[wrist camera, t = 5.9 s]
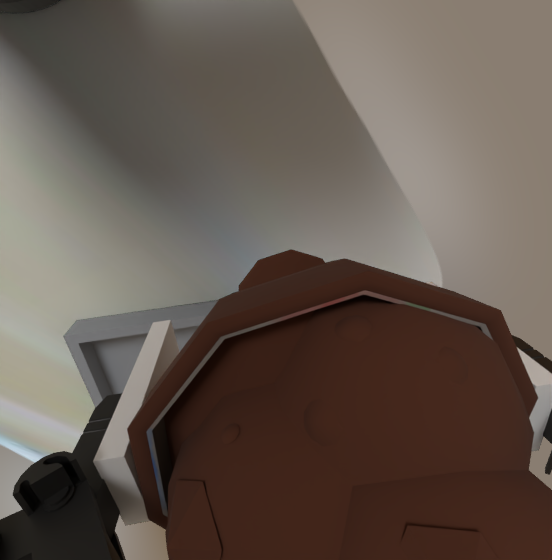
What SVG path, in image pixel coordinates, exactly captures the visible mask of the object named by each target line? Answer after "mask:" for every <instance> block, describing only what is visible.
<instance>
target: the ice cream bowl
mask: <svg viewBox="0 0 552 560" xmlns="http://www.w3.org/2000/svg"><path fill="white" fill-rule="evenodd" d="M537 400H538V396H537V393H536V391H535V389H534V387H533V384H532V382H531V380H530V377H529V375H528V373H527V370H526V368H525V366H524V363H523V361H522V359H521V356H520V354H519V352H518V349H517V347H516V345H515V342H514V340H513V338H512V335H511V333H510V331H509V328H508V326H507V324H506V322H505V320H504V317H503V314H502V312H501V310H499V309H496V308H493V307H491V306H488V305H486V304H483V303H481V302H479V301H476V300H474V299H471V298H468V297H466V296H464V295H461V294H458V293H456V292H454V291H450V290H447V289H444V288H440V287H437V286H434V285H431V284H427V283H424V282H421V281H417V280H414V279H411V278H407V277H404V276H401V275H398V274H394V273H391V272H388V271H384V270H381V269H378V268H374V267H371V266H368V265H365V264H361V263H358V262H355V261H351V260H348V259H341V260H336V261H331V262H327V263H325V262H324V260H323V259H322V258H318V257H315V256H311V255H308V254H305V253H301V252H298V251H295V250H288V251H285V252H282V253H279V254H276V255H273V256H270V257H266V258H263V259H260V260H258V261H257V263H256V264H255V265H254V267H253V268H252V269H251V270H250V272H249V273H248V274H247V276H246V277H245V278H244V280H243V281H242V282H241V284H240V285H239V291H238V292H235V293H232V294H230V295H228V296H226V297H223V298H221V299H219V300H218V302H217V303H216V304H215V306H214V307H213V308H212V310H211V311H210V312H209V314H208V315H207V316H206V318H205V319H204V320H203V322H202V323H201V324H200V326H199V327H198V328H197V330H196V331H195V332H194V334H193V335H192V336H191V338H190V339H189V340H188V342H187V343H186V344H185V346H184V347H183V348H182V350H181V351H180V352H179V354H178V355H177V356H176V358H175V359H174V360H173V362H172V363H171V364H170V366H169V367H168V368H167V370H166V371H165V372H164V374H163V375H162V376H161V378H160V379H159V380H158V382H157V383H156V384H155V386H154V387H153V388H152V390H151V392H150V393H149V395H148V396H147V398H146V400H145V401H144V403H143V404H142V406H141V407H140V409H139V411H138V412H137V414H136V415H135V417H134V418H133V420H132V422H131V423H130V425H129V426H128V428H127V432H128V436H129V440H130V445H131V449H132V453H133V457H134V462H135V466H136V470H137V475H138V479H139V483H140V487H141V492H142V496H143V500H144V504H145V509H146V513H147V517H148V519H149V520H150V521H152V522H154V523H156V524H157V525H159V526H161V527H162V528H164V529H166V543H167V551H168V556H169V560H552V490H551V489H550V488H549V487H547V486H546V485H545V484H544V483H543V482H542V481H540V480H539V479H538V478H537V477H536V476H535V475H534V474H532V473H531V472H530V471H529V464H530V457H531V451H532V444H533V437H534V431H533V428H532V425H531V422H530V419H529V417H530V415H531V413H532V411H533V408H534V406H535V404H536V402H537Z"/></svg>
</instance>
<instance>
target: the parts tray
mask: <svg viewBox="0 0 552 560" xmlns="http://www.w3.org/2000/svg"><path fill="white" fill-rule="evenodd" d="M217 302H218V300H216V301H209V302H202V303H195V304H188V305H181V306H174V307H167V308H160V309H153V310H146V311H139V312H132V313H125V314H118V315H111V316H104V317H97V318H90V319H83V320H77V321H76V322H75V323H74V324H73V325H72V326H71V328H70V329H69V330H68V331H67V332H66V334H65V335H64V336H63V337H64V339H65V341H66V343H67V345H68V348H69V350H70V352H71V354H72V357H73V359H74V361H75V363H76V365H77V368H78V370H79V372H80V374H81V377H82V379H83V381H84V383H85V385H86V388H87V390H88V392H89V394H90V396H91V399H92V401H93V403H94V405H95V408H96V407H97V406H98V405H99V404H100V402H101V401H102V400H103V399H104V398H105V397H106V396H108V395H114V394H120V393H123V391H124V389H125V386H126V384H127V382H128V379H129V377H130V375H131V372H132V370H133V368H134V365H135V363H136V361H137V358H138V356H139V354H140V351H141V349H142V347H143V344H144V342H145V340H146V338H147V335H148V333H149V331H150V328H151V326H152V324H153V322H159V321H166V320H171V323H172V326H173V330H174V333H175V337H176V341H177V344H178V348H179V351H181V350H182V348H183V347H184V346H185V344H186V343H187V342H188V340H189V339H190V338H191V336H192V335H193V334H194V332H195V331H196V330H197V328H198V327H199V326H200V324H201V323H202V322H203V320H204V319H205V318H206V316H207V315H208V314H209V312H210V311H211V310H212V308H213V307H214V306H215V304H216V303H217Z"/></svg>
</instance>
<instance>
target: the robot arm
mask: <svg viewBox="0 0 552 560" xmlns="http://www.w3.org/2000/svg"><path fill="white" fill-rule="evenodd" d="M58 1H60V0H0V12H6V13H25V12H32V11H36V10H40V9H43V8H46V7H49V6H51V5H53V4H55V3H57V2H58ZM427 284H431V285H434V286H436V285H435V284H433V283H432V282H427ZM512 338H513V340H514V342H515V345H516V347H517V349H518V352H519V354H520V356H521V359H522V361H523V363H524V366H525V368H526V370H527V373H528V375H529V377H530V380H531V382H532V384H533V387H534V389H535V391H536V393H537V396H538V400H537V402H536V404H535V406H534V408H533V411H532V413H531V415H530V417H529V419H530V422H531V425H532V428H533V431H534V437H533V444H532V451H537V450H539V448H540V445H541V442H542V439H543V436H544V437H545V438H546V439H547V440H548V441H549V442H550V443H552V361H551V360H549V359H548V358H546V357H545V358H544V356H543V355H542V354H541V353H540V352H538V351H537V350H534V349H533V347H531V346H530V345H528V344H527V343H526V342H524V341H523V340H522V339H520V338H517V337H515V336H513V335H512ZM179 352H180V351H179V348H178V344H177V341H176V337H175V333H174V330H173V326H172V323H171V320H166V321H159V322H153V324H152V326H151V328H150V331H149V333H148V335H147V338H146V340H145V342H144V344H143V347H142V349H141V351H140V354H139V356H138V358H137V361H136V363H135V365H134V368H133V370H132V372H131V375H130V377H129V379H128V382H127V384H126V386H125V389H124V391H123V393H120V394H114V395H108V396H106V397H105V398H104V399H103V400H102V401H101V402H100V404H99V405H98V406H97V407H96V408H95V410H94V412H93V414H92V416H91V417H90V419H89V423H87V425H86V427H85V429H84V431H83V434H82V435H81V437H80V439H79V441H78V443H77V445H76V447H75V449H74V451H73V453H69V452H65V451H63V452H56V453H53V454H50V455H48V456H46V457H43V458H42V459H40V460H39V461H37V462H36V463H34V464H33V465H31V466H30V467H29V468H28V469H27V470H26V471H25V472H24V473H23V474H22V475H21V477H20V478H19V480H18V482H17V483H16V485H15V487H14V492H13V496H14V498H15V499H16V500H17V502H18V503H19V505H20V506H21V507H22V509H23V510H21V511H19V512H16V513H14V514H12V515H10V516H8V517H5V518H3V519H1V520H0V560H126V559H125V556H124V553H123V550H122V547H121V545H120V542H119V539H118V536H117V534H116V532H115V527H116V523H117V520H118V517H119V514H120V516H121V518H122V520H123V522H124V523H125V525H131V524H136V523H142V522H148V521H150V520H149V519H148V517H147V513H146V509H145V504H144V500H143V496H142V492H141V487H140V483H139V479H138V475H137V470H136V466H135V462H134V457H133V453H132V449H131V445H130V440H129V436H128V432H127V428H128V426H129V425H130V423H131V422H132V420H133V418H134V417H135V415H136V414H137V412H138V411H139V409H140V407H141V406H142V404H143V403H144V401H145V400H146V398H147V396H148V395H149V393H150V392H151V390H152V388H153V387H154V386H155V384H156V383H157V382H158V380H159V379H160V378H161V376H162V375H163V374H164V372H165V371H166V370H167V368H168V367H169V366H170V364H171V363H172V362H173V360H174V359H175V358H176V356H177V355H178V354H179ZM551 470H552V451H551V454H550V457H549V459H548V462H547V464H546V467H545V473H546V474H550V473H551Z"/></svg>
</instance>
